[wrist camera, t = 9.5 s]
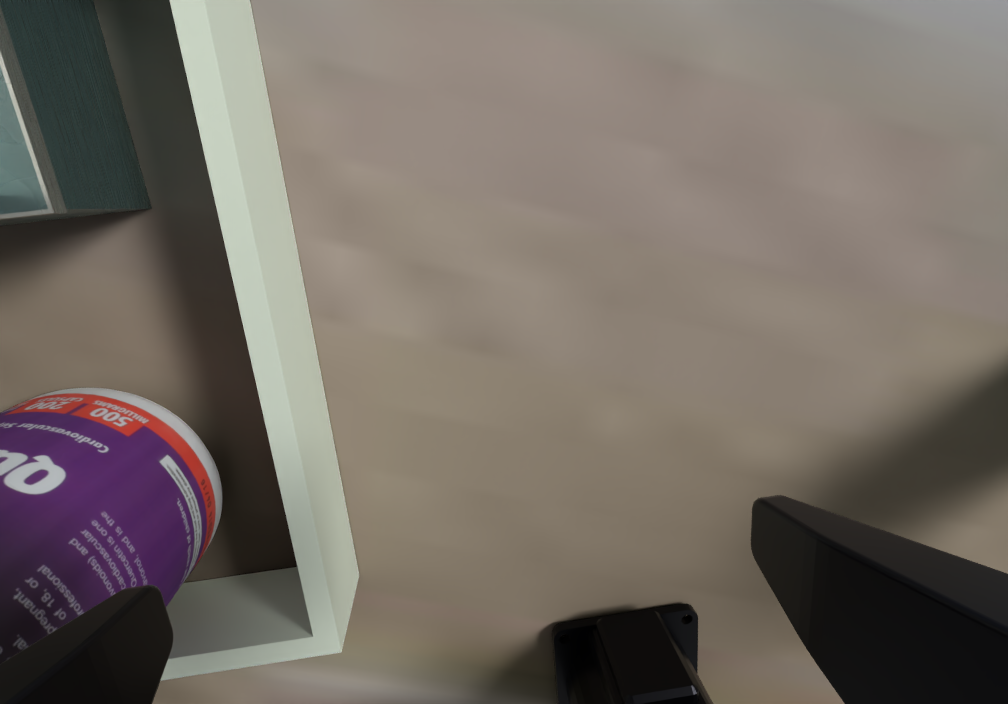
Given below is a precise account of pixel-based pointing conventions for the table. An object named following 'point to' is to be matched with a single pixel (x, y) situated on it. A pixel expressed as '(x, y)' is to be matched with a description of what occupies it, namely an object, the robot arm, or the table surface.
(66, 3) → the tin
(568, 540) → the table surface
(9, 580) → the pill bottle
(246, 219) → the tote
